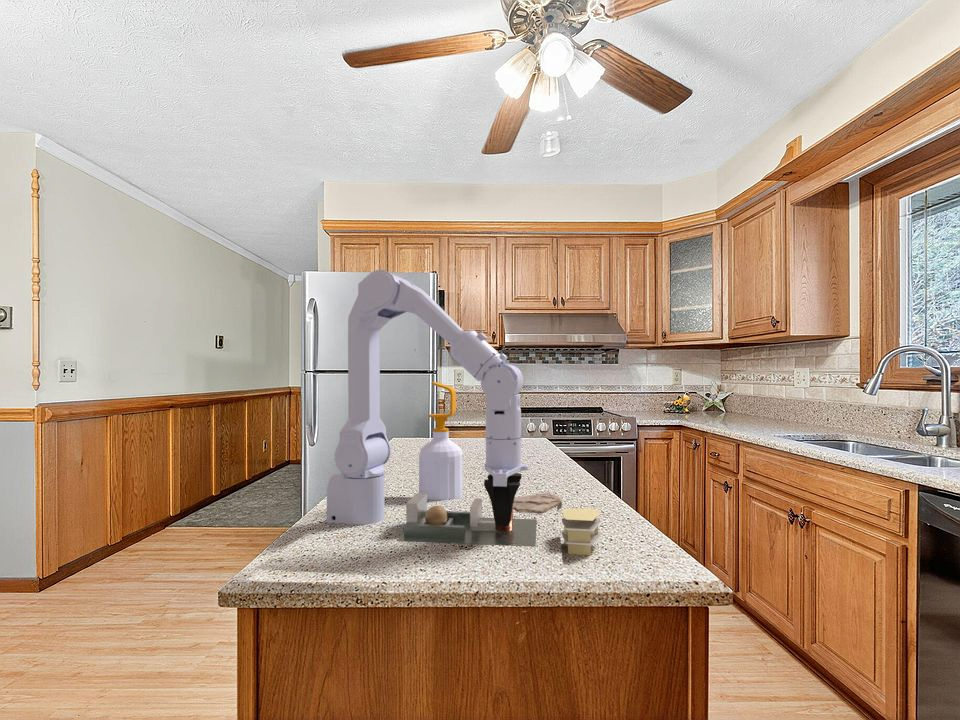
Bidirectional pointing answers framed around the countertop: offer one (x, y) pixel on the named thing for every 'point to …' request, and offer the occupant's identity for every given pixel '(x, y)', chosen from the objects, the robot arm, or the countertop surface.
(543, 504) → the stone
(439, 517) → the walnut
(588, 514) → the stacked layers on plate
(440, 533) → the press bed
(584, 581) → the countertop surface
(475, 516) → the ram
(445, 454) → the soap bottle
